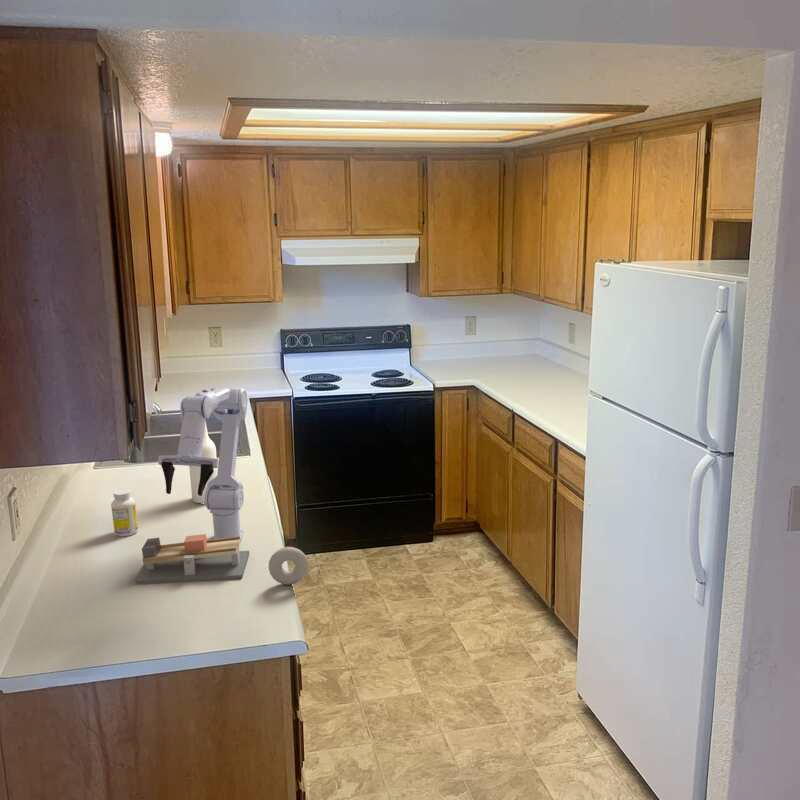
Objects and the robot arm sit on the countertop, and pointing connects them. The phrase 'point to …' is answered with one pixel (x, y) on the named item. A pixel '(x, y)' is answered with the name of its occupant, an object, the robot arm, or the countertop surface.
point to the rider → (195, 543)
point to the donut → (290, 555)
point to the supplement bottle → (124, 513)
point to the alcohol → (207, 452)
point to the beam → (177, 551)
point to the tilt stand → (195, 569)
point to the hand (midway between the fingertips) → (184, 494)
